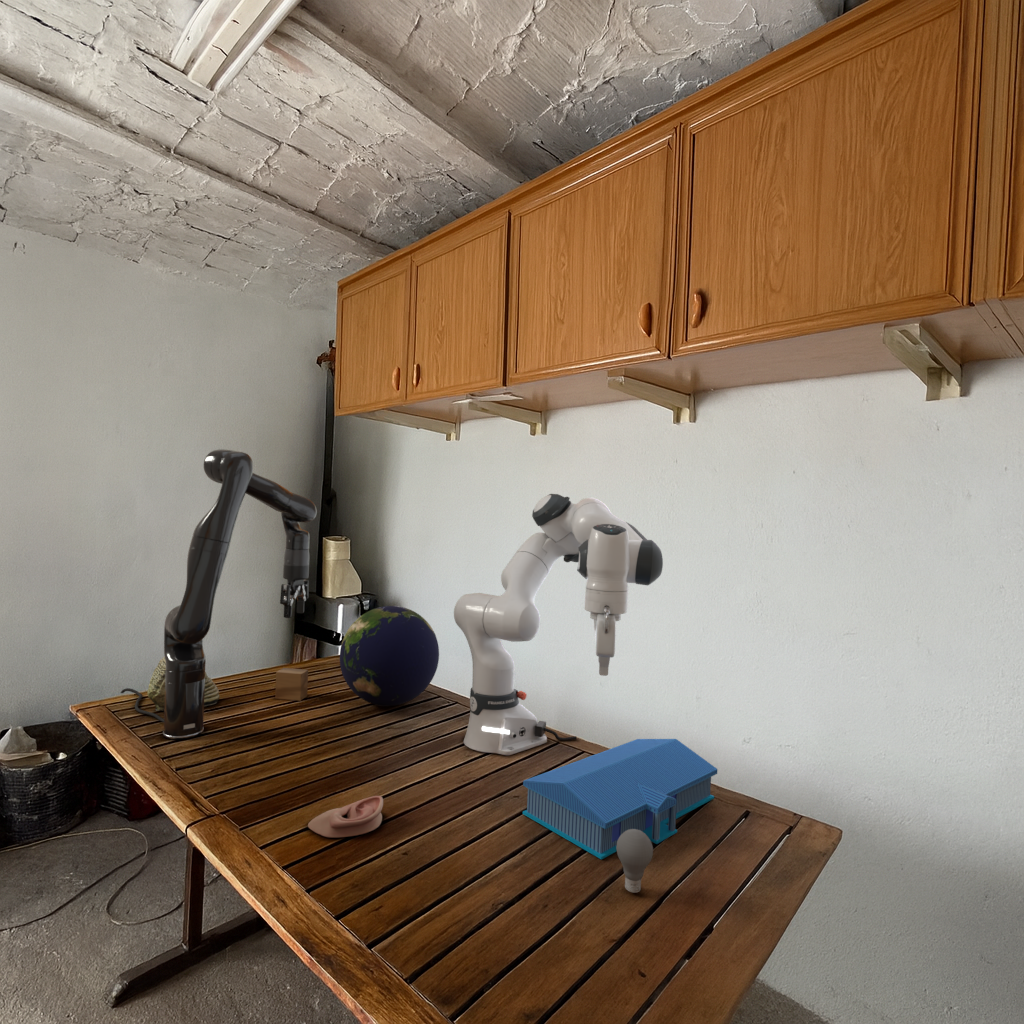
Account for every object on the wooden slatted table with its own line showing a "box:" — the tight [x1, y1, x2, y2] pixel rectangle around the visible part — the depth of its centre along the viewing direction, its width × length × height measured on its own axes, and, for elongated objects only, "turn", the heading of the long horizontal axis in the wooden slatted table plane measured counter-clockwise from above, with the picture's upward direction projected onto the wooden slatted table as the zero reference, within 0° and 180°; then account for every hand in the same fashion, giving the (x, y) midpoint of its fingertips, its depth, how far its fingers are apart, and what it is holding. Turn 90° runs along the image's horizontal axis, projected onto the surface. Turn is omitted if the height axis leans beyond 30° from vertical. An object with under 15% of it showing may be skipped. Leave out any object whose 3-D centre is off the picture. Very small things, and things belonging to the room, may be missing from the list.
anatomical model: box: [307, 795, 384, 839], centre depth 123 cm, size 13×4×12 cm
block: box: [274, 667, 309, 702], centre depth 197 cm, size 5×8×8 cm, turn 83°
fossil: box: [147, 656, 221, 712], centre depth 185 cm, size 9×18×15 cm, turn 132°
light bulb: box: [616, 829, 654, 894], centre depth 106 cm, size 6×6×10 cm
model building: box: [522, 738, 718, 860], centre depth 134 cm, size 39×24×10 cm, turn 132°
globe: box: [339, 605, 440, 707], centre depth 194 cm, size 30×30×30 cm
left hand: (294, 615), depth 197 cm, fingers open, 8 cm apart
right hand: (602, 668), depth 132 cm, fingers open, 8 cm apart
